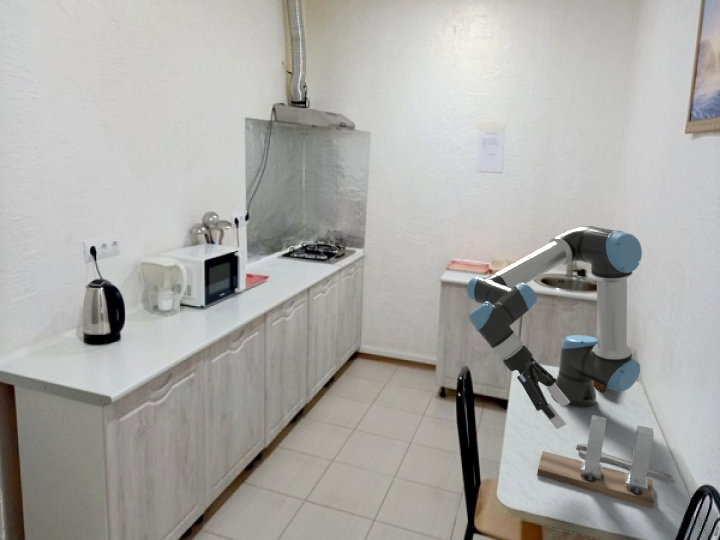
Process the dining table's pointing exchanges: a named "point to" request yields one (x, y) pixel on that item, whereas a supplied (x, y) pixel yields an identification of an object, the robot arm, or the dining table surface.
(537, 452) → the dining table surface
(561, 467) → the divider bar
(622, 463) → the adjustable wrench
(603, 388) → the food container
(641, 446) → the fixed leg
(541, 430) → the dining table surface
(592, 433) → the block
